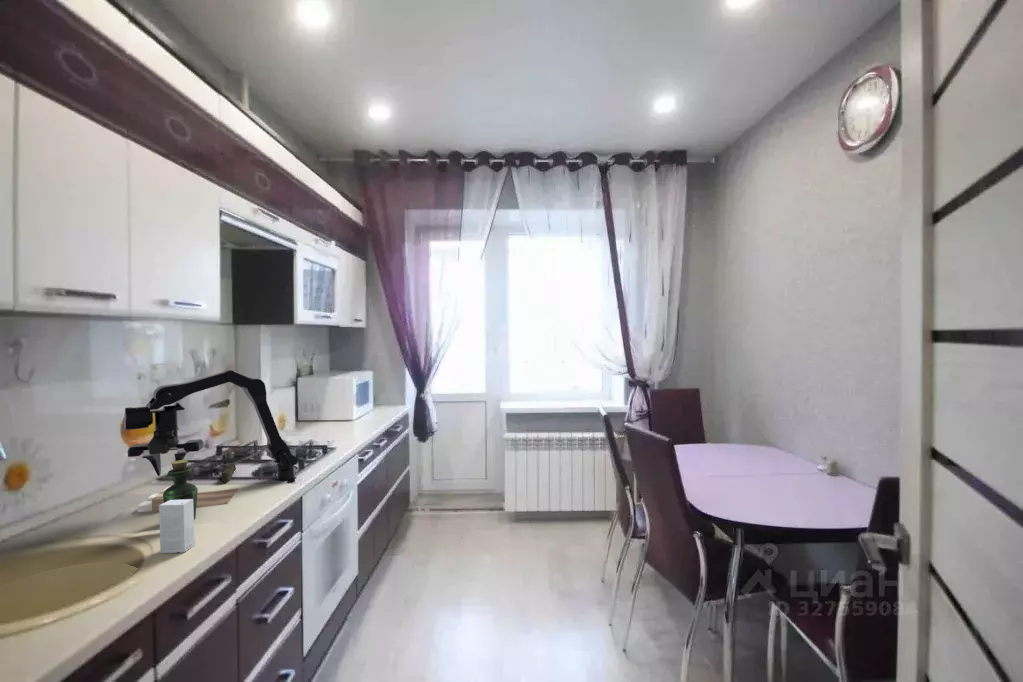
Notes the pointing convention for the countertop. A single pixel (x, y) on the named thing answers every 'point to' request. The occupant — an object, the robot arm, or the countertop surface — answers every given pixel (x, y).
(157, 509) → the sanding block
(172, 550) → the skincare box
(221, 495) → the walnut board
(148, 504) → the white square block
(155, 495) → the plain white cube
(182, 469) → the potion bottle
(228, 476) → the hand tool
